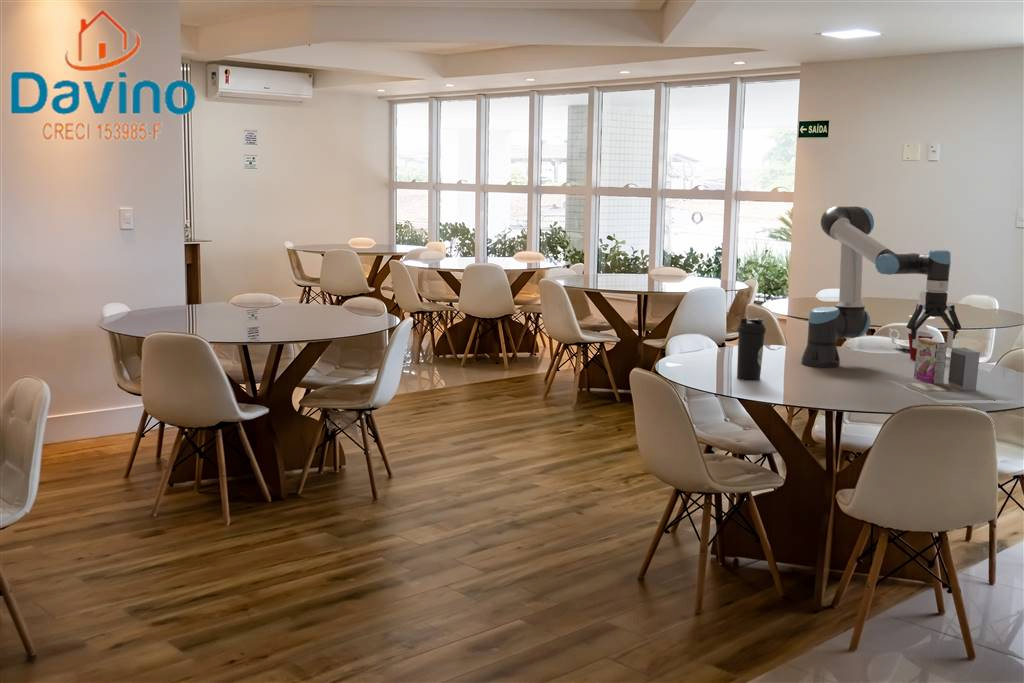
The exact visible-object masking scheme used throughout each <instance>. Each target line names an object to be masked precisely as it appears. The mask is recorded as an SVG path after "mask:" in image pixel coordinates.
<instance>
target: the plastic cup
mask: <svg viewBox="0 0 1024 683" xmlns="http://www.w3.org/2000/svg"><path fill="white" fill-rule="evenodd" d="M907 336H908V340H909V349H910V350H909V357H910V360H911V359H913V360H912V361H916V350H917V348H913V347H912V342H913V339H911V330H907ZM933 337H935V334H933V333H930V332H927V333H926V332H921V331H919V337H918V338H929V339H933Z"/></svg>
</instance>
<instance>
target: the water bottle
mask: <svg viewBox="0 0 1024 683" xmlns="http://www.w3.org/2000/svg"><path fill="white" fill-rule="evenodd" d="M763 321H764V318H759V317H758V318H749V319H748V318H747V317H744V316H743V318H741V320H740V323H739V324H738V325H737V333H738V340H737V363H736V364H737V370H736V371H737V372H736V378H737V379H738V380H741V381H746V382H747V381H750V382H753V381H754V382H755V381H756V382H757V381H760V379H761V373H762V363H763V352H764V342H765V340H764V339H765V334H766V332H767V331H766V330H767V328H766V327H765V324H764V323H763Z"/></svg>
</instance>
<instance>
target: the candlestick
mask: <svg viewBox="0 0 1024 683" xmlns="http://www.w3.org/2000/svg"><path fill="white" fill-rule="evenodd" d="M926 292H928V291H927V290H924V289H922V291H921V290H920V291H919V295H918V304H921V305H925V297H926ZM924 312H925V309H923V310H922V312H921V314H920V316H919V318H920V317H921V316H922V314H923V313H924ZM912 316H913V314H911V315H910V314H909V315H908V317H909V318H911V317H912ZM919 318H918V319H919ZM918 319H917V321H918ZM934 319H936V316H935V317H932V316H930V317H929V318H927V319H926V321H925V322H924V323H923V324H922V325H921V326H920V327H919V328H918V329H917V331H921V332H926V333H928V326H927V325H926V322H927V321H929V320H934ZM917 321H916V322H917ZM888 330H889V333H888V336H889V338H890V339H891V342H892V344H894V345H898V346H900V347H901V348H903V349H905V350H908V351H910V349H909V339H907V340H906V339H904V340H903V339H902V340H897V339H898V338H899V337H900V332H899V331H898V330H897V329H892V328H888ZM892 332H896V337H893V336H892Z"/></svg>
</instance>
